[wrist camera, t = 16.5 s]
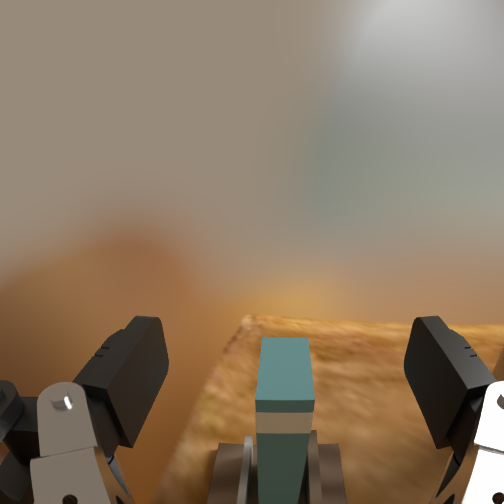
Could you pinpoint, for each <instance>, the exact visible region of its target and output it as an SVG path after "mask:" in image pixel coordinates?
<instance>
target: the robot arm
mask: <svg viewBox="0 0 504 504" xmlns="http://www.w3.org/2000/svg"><path fill="white" fill-rule="evenodd" d="M168 366H169V359H168V353H167V348H166V343H165V339H164V334H163V328H162V323H161V320H160V319H159V318H158V317H147V316H135V317H134V318H133V320H131V322H130V323H129V324H128V325H127V327H126V328H125V329H124V330H123V329H121V330H119V331H117V332H116V333H114V334H113V335H111V336H110V337H108V338H107V340H106V341H105V342H104V343H103V344H102V346H101V348H99V350H98V351H97V352H96V353H95V356H93V357H92V358H91V359H90V360H89V362H88V363H87V364H86V365H85V366H84V368H83V369H82V370H81V372H80V373H79V374H78V375H77V377H76V378H75V379H74V380H73V382H61V383H56V384H53V385H51V386H49V387H48V388H46V389H45V390H44V391H43V392H42V393H41V394H40V396H39V397H21V396H19V394H18V392H17V390H16V388H15V386H14V385H13V384H12V383H11V382H8V381H3V380H2V381H0V443H1V442H2V441H3V442H4V444H5V445H6V446H7V448H8V449H9V450H10V451H9V453H8V454H7V456H6V458H5V459H4V461H3V462H2V464H1V465H0V504H33V503H34V501H35V504H135V501H134V499H133V497H132V495H131V492H130V490H129V488H128V485H127V483H126V480H125V478H124V475H123V473H122V470H121V467H120V465H119V462H118V459H117V457H116V455H115V453H114V452H115V450H116V448H117V446H118V445H120V446H125V447H129V448H133V446H134V443H135V441H136V439H137V437H138V434H139V432H140V430H141V428H142V426H143V424H144V422H145V420H146V418H147V415H148V413H149V411H150V409H151V407H152V405H153V402H154V401H155V398H156V396H157V394H158V392H159V390H160V388H161V386H162V384H163V382H164V380H165V377H166V375H167V372H168ZM404 371H405V375H406V378H407V380H408V382H409V384H410V387H411V389H412V391H413V393H414V396H415V398H416V400H417V402H418V405H419V407H420V409H421V412H422V414H423V416H424V419H425V421H426V423H427V426H428V428H429V431H430V433H431V436H432V438H433V441H434V443H435V446H436V448H437V449H441V448H445V447H448V446H451V447H452V449H453V452H452V453H451V455H450V457H449V459H448V461H447V464H446V466H445V469H444V471H443V474H442V476H441V478H440V481H439V483H438V485H437V487H436V490H435V492H434V494H433V496H432V498H431V500H430V502H429V504H504V345H503V348H502V351H501V353H500V356H499V358H498V361H497V363H496V366H495V368H494V370H493V373H491V372H490V371H489V369H488V368H487V367H486V365H485V364H484V363H483V361H482V360H481V359H480V358H479V356H478V357H477V354H476V352H475V351H474V350H473V349H471V346H470V345H469V344H468V342H467V341H466V340H465V339H464V337H462V336H461V335H459V334H458V333H456V332H455V331H453V330H452V329H451V330H450V329H449V328H448V327H447V326H446V324H445V323H444V322H443V321H442V319H441V318H440V317H439V316H428V317H417V318H416V319H415V320H414V322H413V325H412V330H411V334H410V338H409V342H408V346H407V350H406V354H405V358H404Z"/></svg>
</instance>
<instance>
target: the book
mask: <svg viewBox="0 0 504 504" xmlns="http://www.w3.org/2000/svg"><path fill="white" fill-rule="evenodd" d="M314 403H315V396H314V386H313V377H312V368H311V359H310V350H309V342H308V337H262V345H261V354H260V363H259V372H258V381H257V390H256V398H255V405H256V412H255V415H256V436H257V468H258V499H259V504H298V499H299V494H300V489H301V484H302V478H303V473H304V467H305V462H306V456H307V450H308V444H309V437H310V433H311V426H312V420H313V410H314Z"/></svg>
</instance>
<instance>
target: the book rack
mask: <svg viewBox="0 0 504 504" xmlns="http://www.w3.org/2000/svg"><path fill="white" fill-rule="evenodd" d="M206 504H259V499H258V468H257V445H253V441H252V436H245V444H244V445H243V444H227V443H219V445H218V450H217V455H216V460H215V465H214V469H213V474H212V479H211V484H210V489H209V493H208V498H207V503H206ZM298 504H347V503H346V495H345V487H344V479H343V472H342V465H341V458H340V451H339V445H338V443H337V444H321V445H318V443H317V433H316V430H311V433H310V437H309V444H308V450H307V456H306V462H305V467H304V473H303V478H302V484H301V489H300V494H299V499H298Z"/></svg>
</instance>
